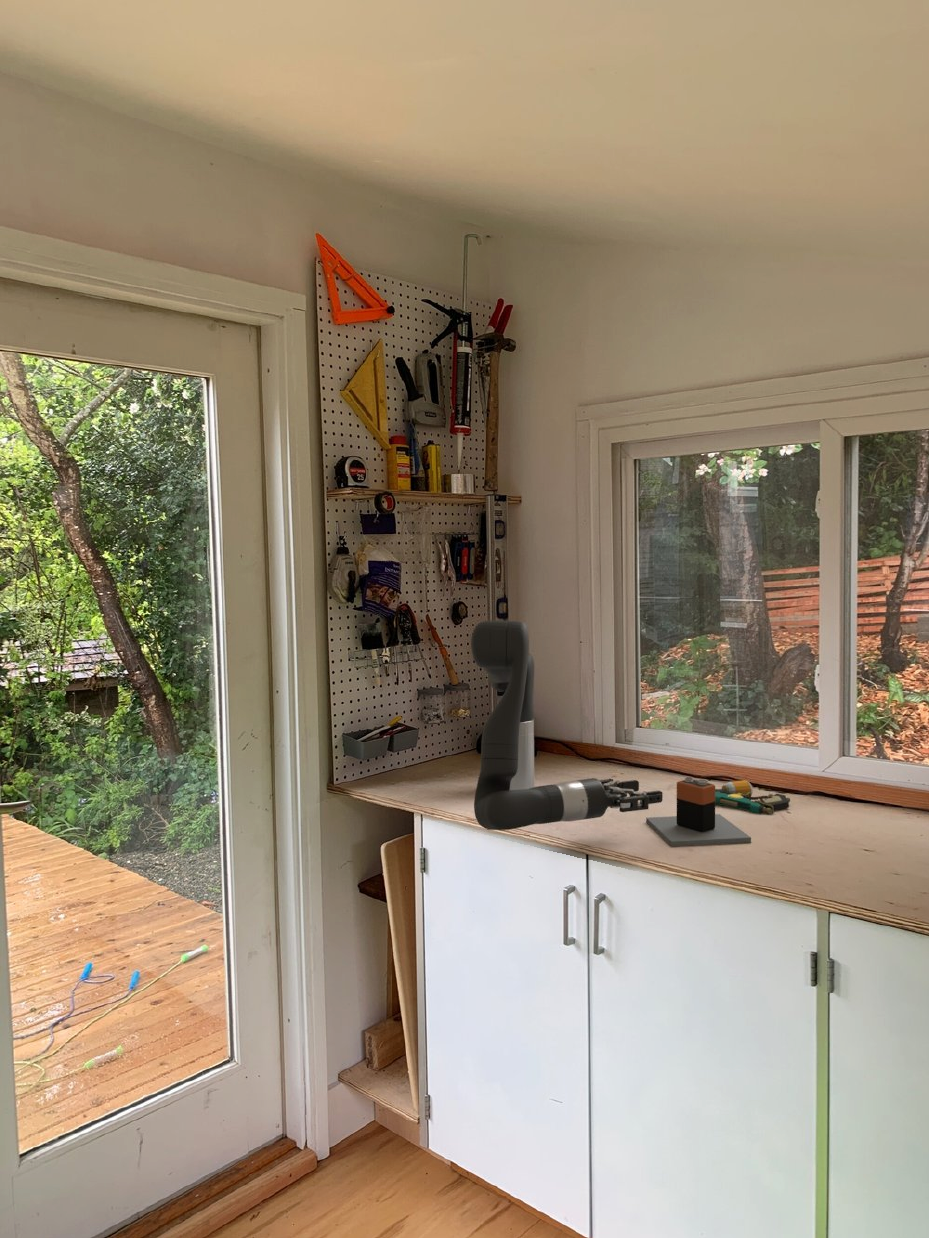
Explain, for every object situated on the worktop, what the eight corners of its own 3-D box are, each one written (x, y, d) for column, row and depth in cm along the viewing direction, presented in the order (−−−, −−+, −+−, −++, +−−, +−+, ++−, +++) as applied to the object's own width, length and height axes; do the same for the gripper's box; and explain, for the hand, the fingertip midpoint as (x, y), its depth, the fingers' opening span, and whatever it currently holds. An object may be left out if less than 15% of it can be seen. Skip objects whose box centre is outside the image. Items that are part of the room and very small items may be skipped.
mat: (671, 846, 177) (671, 841, 177) (646, 822, 193) (646, 817, 193) (751, 842, 179) (751, 837, 179) (719, 818, 195) (719, 814, 195)
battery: (702, 833, 182) (702, 783, 181) (675, 825, 187) (675, 777, 186) (716, 828, 184) (716, 780, 184) (689, 821, 190) (689, 773, 189)
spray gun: (798, 811, 202) (753, 826, 194) (739, 791, 216) (694, 803, 208) (799, 793, 202) (754, 807, 194) (739, 773, 216) (694, 785, 208)
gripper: (595, 790, 169) (670, 780, 174) (559, 772, 182) (630, 763, 188) (595, 830, 169) (669, 819, 175) (559, 809, 182) (630, 799, 188)
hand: (649, 790), depth 181 cm, fingers open, 8 cm apart
